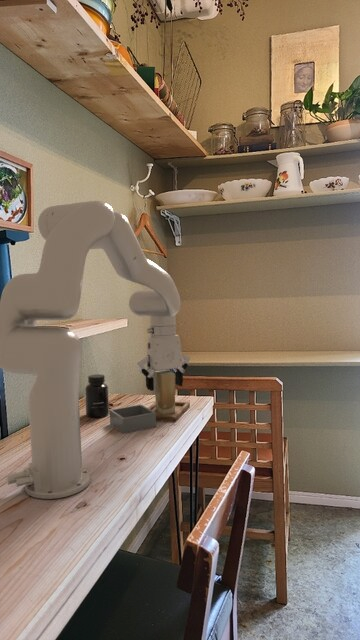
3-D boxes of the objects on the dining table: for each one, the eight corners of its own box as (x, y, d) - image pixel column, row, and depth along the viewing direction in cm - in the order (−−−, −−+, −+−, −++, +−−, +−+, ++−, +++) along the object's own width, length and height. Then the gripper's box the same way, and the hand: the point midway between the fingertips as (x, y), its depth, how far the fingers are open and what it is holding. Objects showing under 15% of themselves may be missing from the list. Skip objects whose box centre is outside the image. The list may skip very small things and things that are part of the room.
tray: (175, 422, 125) (175, 417, 125) (139, 419, 128) (139, 414, 128) (189, 406, 140) (189, 402, 139) (156, 404, 143) (156, 400, 142)
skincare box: (155, 409, 136) (153, 370, 135) (168, 407, 137) (167, 369, 136) (162, 415, 130) (161, 374, 129) (176, 413, 131) (175, 372, 130)
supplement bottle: (96, 419, 129) (95, 379, 128) (81, 415, 133) (79, 376, 132) (113, 413, 134) (112, 375, 133) (98, 410, 138) (96, 372, 137)
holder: (123, 433, 117) (122, 418, 116) (110, 423, 125) (109, 409, 125) (156, 426, 121) (155, 412, 121) (141, 417, 130) (140, 404, 129)
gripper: (142, 334, 124) (144, 394, 126) (194, 330, 133) (195, 386, 134) (131, 332, 131) (133, 389, 132) (182, 327, 139) (183, 381, 141)
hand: (165, 387), depth 133 cm, fingers open, 9 cm apart
